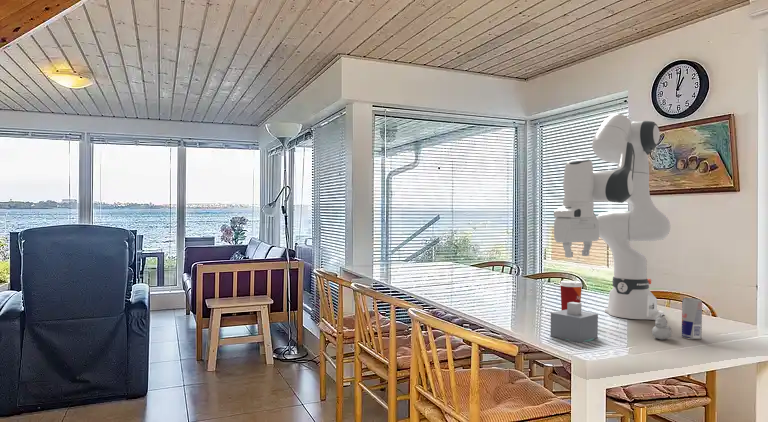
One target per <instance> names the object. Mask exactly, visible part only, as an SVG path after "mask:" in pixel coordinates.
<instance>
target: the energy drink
mask: <svg viewBox="0 0 768 422" xmlns="http://www.w3.org/2000/svg"><path fill="white" fill-rule="evenodd" d="M702 327H703V301H702V299H700V298H696V297H694V298H693V297H683V299H682V301H681V337H682V338H683V337H685V338H684V339H686V338H690V339H689V340H692V339H700V340H701V339H702V333H703V331H702V330H703V328H702Z"/></svg>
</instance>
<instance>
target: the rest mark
mask: <svg viewBox="0 0 768 422" xmlns="http://www.w3.org/2000/svg"><path fill="white" fill-rule="evenodd" d="M564 340H566V341H570V340H569V339H564ZM591 341H594V338H593V339H589V340H586V341H584V342H585V343H586V342H591ZM584 342H583V343H584Z"/></svg>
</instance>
